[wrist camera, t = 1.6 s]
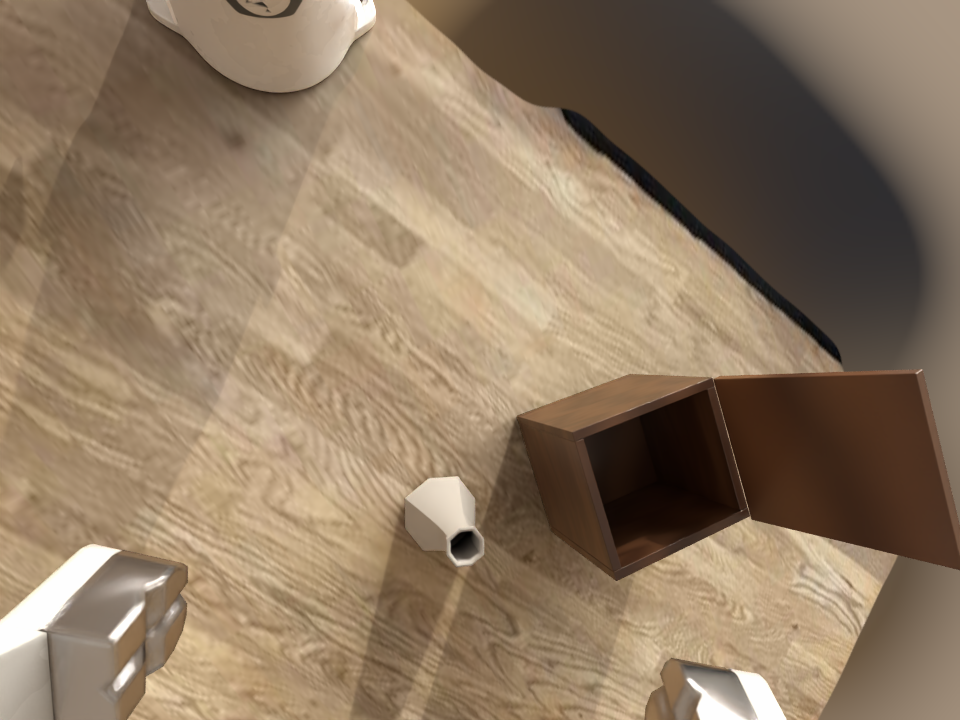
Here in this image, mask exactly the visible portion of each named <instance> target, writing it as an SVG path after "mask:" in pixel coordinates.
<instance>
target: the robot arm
mask: <svg viewBox="0 0 960 720" xmlns="http://www.w3.org/2000/svg"><path fill="white" fill-rule="evenodd" d="M361 1H362V3H360V0H146V2H147V5H148V8H149V11H150V13H151V15H152V16H153V17H154V18H155V19H156V20H158V21H159V22H160V23H162V24H163V25H165V26H166V27H168V28H170V29H172V30H173V31H175V32H177V33H179V34H180V35H182V36H183V37H184V38H186V39H187V40H188V41H189V42H190V43H191V45H192V46H193V47H194V48H195V49H196V50H197V52H198V53H199V54H200V55H201V56H202V57H203V58H204V59H205V61H206V62H208V63H209V64H210V65H211V66H212V67H213V68H214V69H216V70H217V71H218V72H220V73H221V74H222V75H224V76H226V77H227V78H229V79H231V80H233V81H235V82H237V83H239V84H241V85H244V86H246V87H249V88H252V89H256V90H260V91H266V92H276V93H283V92H294V91H299V90H303V89H306V88H309V87H311V86H313V85H316V84H317V83H319V82H321V81H322V80H324V79H325V78H327V77H328V76H329V75H330V74H331V73H332V72H333V71H334V70H335V69H336V68H337V67H338V66H339V64H340V63H341V61H342V60H343V58H344V56H345V54H346V53H347V51H348V49H349V47H350V46H351V44H352V43H353V42H354V40H356V39H357V38H359V37H360V36H362V35H363V34H365V33H366V32H367V31H369V30H370V29H371V28H372V27H373V26H374V24H375V21H376V12H375V7H374V4H373V1H372V0H361ZM187 583H188V566H186V565H185V564H183V563H179V562H175V561H170V560H166V559H161V558H157V557H152V556H148V555H143V554H139V553H134V552H130V551H125V550H118V549H113V548H109V547H104V546H100V545H95V544H90V545H88V546H85V547H83V548H81V549H79V550H78V551H77V552H76V553H75V554H74V555H73V556H71V557H70V558H69V559H68V560H67V561H66V562H65V563H64V564H63V565H61V566H60V567H59V568H58V569H57V570H56V571H55V572H54V573H52V574H51V575H50V576H49V577H48V578H47V579H46V580H45V581H44V582H42V583H41V584H40V585H39V586H38V587H37V588H36V589H35V590H34V591H32V592H31V593H30V594H29V595H28V596H27V597H26V598H25V599H24V600H22V601H21V602H20V603H19V604H18V605H17V606H16V607H15V608H14V609H12V610H11V611H10V612H9V613H8V614H7V615H6V616H5V617H3V618H2V619H1V620H0V720H127V719H128V718H129V716H130V715H131V713H132V712H133V710H134V709H135V707H136V706H137V704H138V703H139V702H140V700H141V699H142V697H143V696H144V694H145V685H146V676H148V675H149V674H151V673H153V672H154V671H156V670H158V669H160V668H161V667H163V666H164V664H165V663H166V661H167V660H168V658H169V657H170V655H171V654H172V652H173V651H174V649H175V647H176V644H177V642H178V640H179V638H180V636H181V633H182V631H183V628H184V624H185V619H186V615H187V603H186V601H185V600H184V599H183V597H182V596H181V594H180V592H181V591H182V590H183V588H184V587H185V585H186V584H187ZM660 675H661V678H662V681H663V686H662V687H660V688H658V689H657V690H655V691H653V692H652V693H651V695H650V697H649V700H648V703H647V705H646V708H645V719H644V720H786V718H785V716H784V714H783V712H782V710H781V708H780V707H779V705H778V703H777V701H776V699H775V697H774V695H773V693H772V691H771V690H770V688H769V686H768V684H767V682H766V681H765V680H764V679H763V678H762V677H761V676H760V675H759V674H756V673H750V672H745V671H739V670H734V669H726V668H723V667H718V666H712V665H707V664H702V663H696V662H691V661H685V660H680V659H674V658H671V659H669V660H668V661H667V662H666V663H665V664H664V666H663V669H662V671H661V673H660Z"/></svg>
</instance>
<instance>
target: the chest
mask: <svg viewBox="0 0 960 720" xmlns="http://www.w3.org/2000/svg"><path fill="white" fill-rule="evenodd" d="M517 420H518V423H519V426H520V430H521V433H522V436H523V439H524V443H525V446H526V449H527V453H528V456H529V459H530V462H531V466H532V469H533V472H534V475H535V479H536V482H537V485H538V489H539V492H540V495H541V498H542V502H543V505H544V508H545V512H546V515H547V518H548V521H549V525H550V528H551V531H552V532H553V533H554V534H555V535H557V536H558V537H559V538H561V539H562V540H563V541H565V542H566V543H567V544H568V545H570V546H571V547H572V548H574V549H575V550H576V551H578V552H579V553H580V554H582V555H583V556H584V557H585V558H587V559H588V560H589V561H591V562H592V563H593V564H595V565H596V566H597V567H599V568H600V569H601V570H602V571H604V572H605V573H606V574H608V575H609V576H610V577H612V578H613V579H614V580H616V581H618V580H620V579H622V578H624V577H626V576H628V575H630V574H632V573H634V572H636V571H638V570H640V569H642V568H644V567H646V566H648V565H650V564H653V563H655V562H657V561H659V560H661V559H663V558H665V557H667V556H669V555H671V554H673V553H675V552H677V551H679V550H681V549H683V548H685V547H687V546H690V545H692V544H694V543H696V542H698V541H700V540H702V539H704V538H706V537H708V536H710V535H712V534H714V533H716V532H718V531H720V530H722V529H724V528H726V527H729V526H731V525H733V524H735V523H737V522H739V521H741V520H743V519H745V518H747V517H749V516H750V514H749V511H748V508H747V504H746V500H745V497H744V493H743V489H742V486H741V482H740V478H739V475H738V471H737V467H736V464H735V460H734V456H733V453H732V449H731V445H730V441H729V438H728V434H727V430H726V427H725V423H724V419H723V416H722V412H721V408H720V405H719V401H718V397H717V394H716V390H715V387H714V382H713V378H711V377H687V376H663V375H639V374H629V375H626V376H623V377H621V378H618V379H615V380H612V381H610V382H607V383H604V384H602V385H599V386H596V387H594V388H591V389H588V390H585V391H583V392H580V393H577V394H575V395H572V396H569V397H566V398H564V399H561V400H558V401H556V402H553V403H550V404H548V405H545V406H542V407H539V408H537V409H534V410H531V411H529V412H526V413H523V414H520V415H518V416H517Z"/></svg>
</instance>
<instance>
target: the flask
mask: <svg viewBox="0 0 960 720" xmlns="http://www.w3.org/2000/svg"><path fill="white" fill-rule="evenodd" d="M405 529H406V530H407V531H408V533H409V534H410V535H411V536H412V538H413V539H414V540H415V541H416V542H417V544H418V545H419V546H420V547H421V549H422V550H423V551H434V550H437V551H446V555H447V556H448V558H449V559H450V560H451V561H452V563H453V564H454V565H455V566H456V567H464V566H472V565H473V564H474V563H475V562H476V561H478V560H479V559H480V558H481V557H482V556H483V555H484V538H483V537H482V535H481V534H480V533H479V532H478V530H477V529H476V528H475V498H474V497H473V495H472V494H471V493H470V491H469V490H468V489H467V487H466V486H465V485H464V484H463V482H462V481H461V480H460V478H459V477H458V476H456V477H440V478H429V479H427V480H426V481H425V482H424V483H422V484H421V485H420V486H419V487H418V488H416V489H415V490H414V491H413V492H412V493H410V494H409V495H408V496H407V497H406V498H405Z"/></svg>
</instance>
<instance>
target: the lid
mask: <svg viewBox="0 0 960 720" xmlns="http://www.w3.org/2000/svg"><path fill="white" fill-rule="evenodd" d="M714 383H715V386H716V390H717V394H718V397H719V401H720V405H721V409H722V412H723V416H724V420H725V423H726V427H727V431H728V434H729V438H730V442H731V445H732V449H733V453H734V456H735V460H736V464H737V467H738V471H739V475H740V478H741V482H742V486H743V489H744V493H745V497H746V501H747V504H748V508H749V512H750V515H751V519H752V520H755V521H759V522H764V523H768V524H772V525H776V526H780V527H784V528H788V529H792V530H797V531H801V532H805V533H809V534H813V535H817V536H821V537H826V538H830V539H834V540H838V541H842V542H846V543H850V544H854V545H859V546H863V547H867V548H871V549H875V550H879V551H883V552H887V553H892V554H896V555H900V556H904V557H908V558H912V559H917V560H920V561H925V562H929V563H933V564H937V565H942V566H945V567H949V568H953V569H958V570H960V525H959V520H958V516H957V512H956V508H955V504H954V500H953V495H952V491H951V487H950V483H949V478H948V474H947V470H946V466H945V462H944V457H943V453H942V449H941V445H940V441H939V437H938V432H937V428H936V424H935V419H934V416H933V411H932V407H931V403H930V399H929V395H928V390H927V386H926V382H925V377H924V373H923V370H922V369H919V370H889V371H862V372H861V371H860V372H828V373H799V374H769V375H740V376H719V377H717V378H715V379H714Z"/></svg>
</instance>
